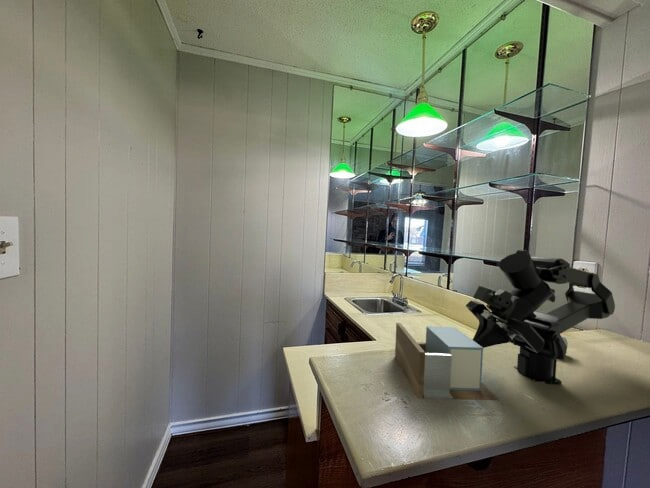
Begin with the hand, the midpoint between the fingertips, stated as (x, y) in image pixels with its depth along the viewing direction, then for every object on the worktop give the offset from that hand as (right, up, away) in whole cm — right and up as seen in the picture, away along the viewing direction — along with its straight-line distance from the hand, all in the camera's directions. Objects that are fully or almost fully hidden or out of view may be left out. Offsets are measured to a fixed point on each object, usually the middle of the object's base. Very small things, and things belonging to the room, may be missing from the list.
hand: (472, 347), depth 60 cm
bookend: (-11, -6, -7) cm, 15 cm away
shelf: (-7, -7, 0) cm, 10 cm away
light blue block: (-5, -6, +1) cm, 8 cm away
